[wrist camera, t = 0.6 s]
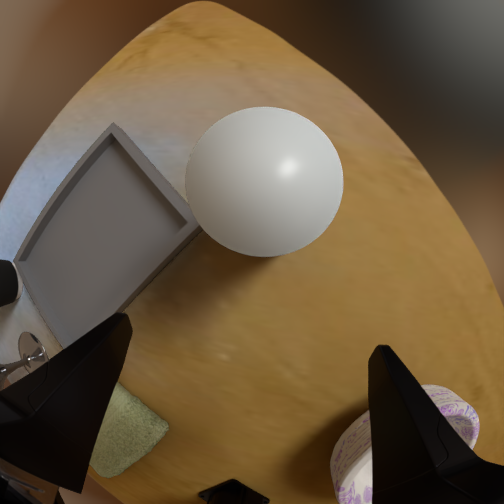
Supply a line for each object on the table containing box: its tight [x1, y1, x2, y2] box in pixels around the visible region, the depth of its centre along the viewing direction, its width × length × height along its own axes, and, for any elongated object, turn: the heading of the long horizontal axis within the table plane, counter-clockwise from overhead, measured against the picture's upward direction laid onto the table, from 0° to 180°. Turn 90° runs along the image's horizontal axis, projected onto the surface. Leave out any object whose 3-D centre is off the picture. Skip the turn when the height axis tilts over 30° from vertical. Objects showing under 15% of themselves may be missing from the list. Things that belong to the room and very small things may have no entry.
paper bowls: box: [330, 385, 479, 504], centre depth 18 cm, size 15×15×8 cm
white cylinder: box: [185, 107, 343, 257], centre depth 16 cm, size 6×6×13 cm
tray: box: [13, 122, 203, 349], centre depth 23 cm, size 20×14×2 cm
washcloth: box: [89, 382, 169, 478], centre depth 23 cm, size 13×18×3 cm
